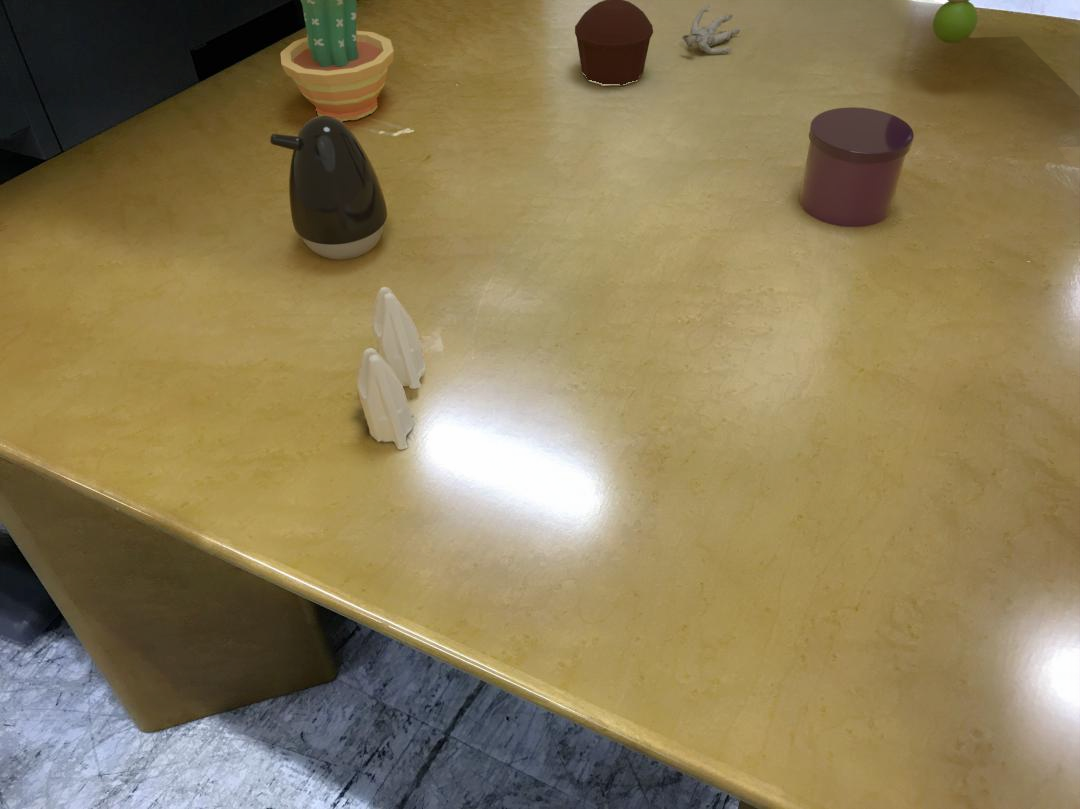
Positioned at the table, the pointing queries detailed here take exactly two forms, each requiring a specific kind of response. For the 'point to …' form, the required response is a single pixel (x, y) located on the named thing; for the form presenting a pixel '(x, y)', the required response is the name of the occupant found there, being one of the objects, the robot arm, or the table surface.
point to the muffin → (613, 42)
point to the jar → (853, 165)
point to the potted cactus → (337, 60)
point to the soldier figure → (709, 34)
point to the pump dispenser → (333, 190)
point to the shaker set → (390, 371)
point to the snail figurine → (955, 21)
